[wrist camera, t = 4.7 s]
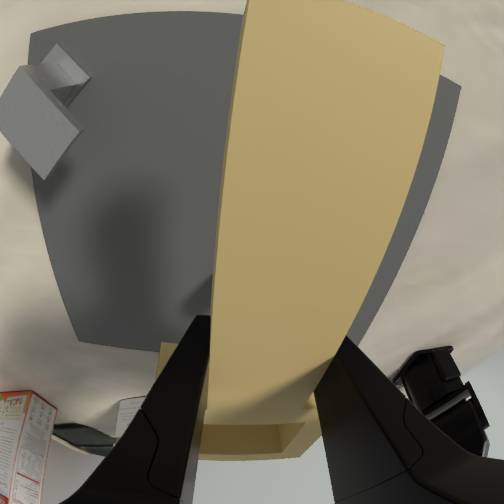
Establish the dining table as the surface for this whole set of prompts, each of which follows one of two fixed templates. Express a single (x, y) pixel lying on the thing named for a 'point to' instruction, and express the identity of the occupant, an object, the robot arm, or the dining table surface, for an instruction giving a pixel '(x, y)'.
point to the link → (305, 208)
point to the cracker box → (24, 446)
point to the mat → (166, 176)
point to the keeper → (43, 109)
